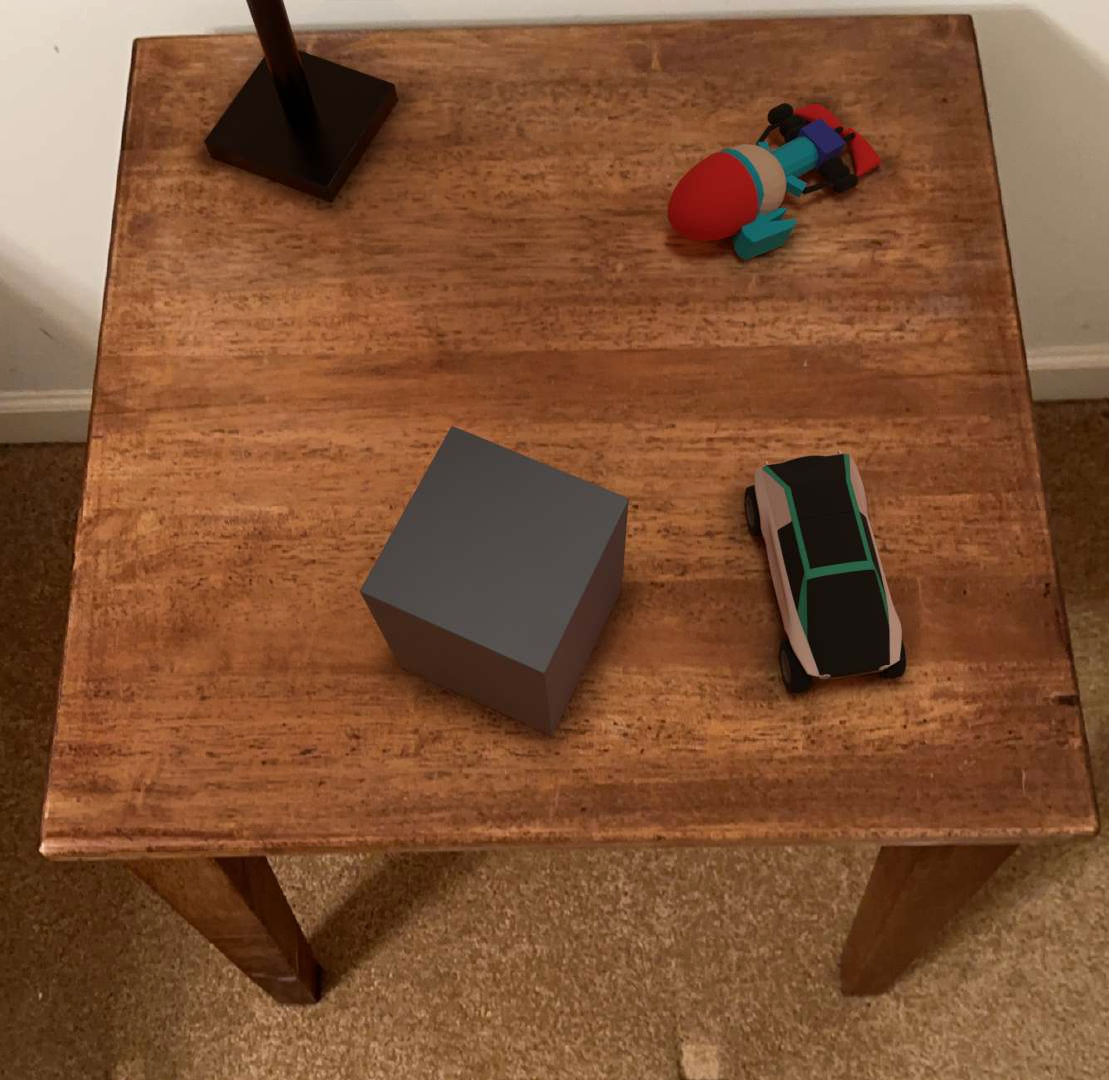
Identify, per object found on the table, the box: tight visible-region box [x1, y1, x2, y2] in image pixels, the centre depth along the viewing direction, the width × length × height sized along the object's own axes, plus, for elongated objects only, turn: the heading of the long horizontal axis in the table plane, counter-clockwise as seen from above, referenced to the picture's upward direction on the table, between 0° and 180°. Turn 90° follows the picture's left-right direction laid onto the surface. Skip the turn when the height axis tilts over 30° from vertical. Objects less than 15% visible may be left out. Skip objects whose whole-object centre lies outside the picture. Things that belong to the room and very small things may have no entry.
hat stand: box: [203, 0, 399, 203], centre depth 69 cm, size 9×9×16 cm
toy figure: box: [667, 102, 882, 261], centre depth 72 cm, size 8×5×15 cm
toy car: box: [743, 450, 907, 694], centre depth 61 cm, size 6×12×5 cm, turn 8°
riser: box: [359, 425, 630, 737], centre depth 58 cm, size 9×9×12 cm
